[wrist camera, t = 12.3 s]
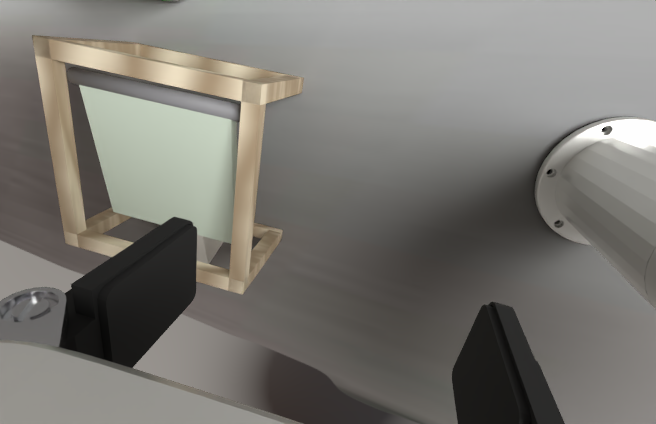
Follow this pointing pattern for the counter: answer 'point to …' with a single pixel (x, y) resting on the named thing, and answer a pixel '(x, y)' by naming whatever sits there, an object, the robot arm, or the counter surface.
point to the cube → (207, 248)
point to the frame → (179, 72)
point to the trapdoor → (163, 151)
